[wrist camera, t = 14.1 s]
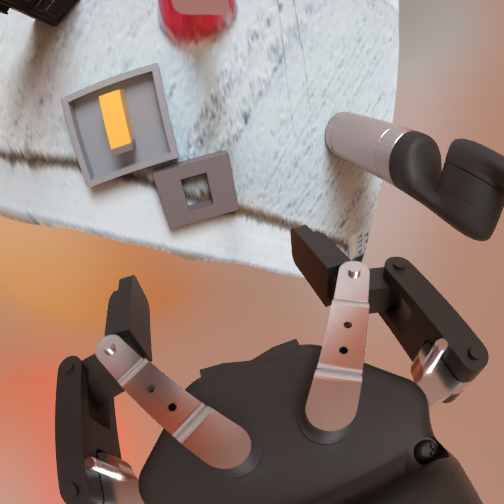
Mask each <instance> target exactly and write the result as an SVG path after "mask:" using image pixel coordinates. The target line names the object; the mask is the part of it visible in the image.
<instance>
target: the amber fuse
mask: <svg viewBox="0 0 504 504" xmlns="http://www.w3.org/2000/svg"><path fill="white" fill-rule="evenodd" d="M99 101H100V105H101V110H102V115H103V119H104V123H105V127H106V132H107V136H108V139H109V143H110V147H111V151H112V155H113V156H115V155H118V154H121V153H124V152H127V151H130V150H133V148H134V147H135V145H136V142H135V138H134V134H133V129H132V125H131V120H130V116H129V111H128V107H127V102H126V97H125V92H124V90H122V89H118V90H115V91H112V92H110V93H107V94H104V95H101V96H99Z"/></svg>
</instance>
